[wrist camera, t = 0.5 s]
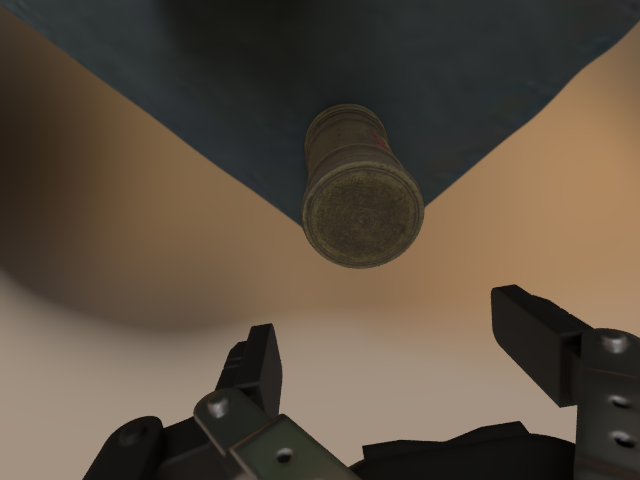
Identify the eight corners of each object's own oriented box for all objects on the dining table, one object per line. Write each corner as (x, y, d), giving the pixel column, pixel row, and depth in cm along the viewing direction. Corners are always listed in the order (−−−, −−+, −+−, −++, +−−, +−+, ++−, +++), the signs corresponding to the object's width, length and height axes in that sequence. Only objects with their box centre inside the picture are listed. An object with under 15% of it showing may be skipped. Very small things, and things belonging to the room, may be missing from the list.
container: (312, 190, 43) (311, 284, 27) (295, 111, 38) (282, 170, 23) (389, 176, 42) (432, 264, 27) (381, 94, 38) (428, 143, 22)
